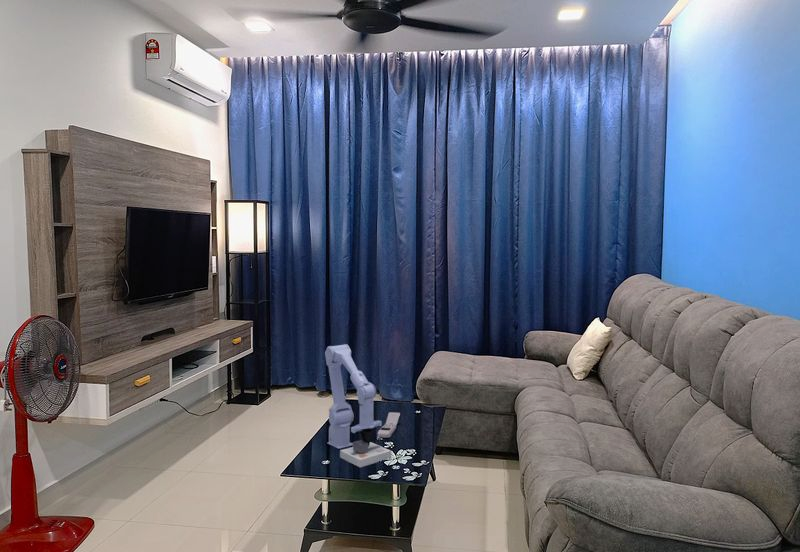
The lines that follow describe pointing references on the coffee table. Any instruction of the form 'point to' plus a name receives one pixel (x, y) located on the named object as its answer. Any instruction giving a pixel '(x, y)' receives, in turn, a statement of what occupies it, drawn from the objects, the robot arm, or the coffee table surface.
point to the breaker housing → (365, 455)
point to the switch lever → (360, 446)
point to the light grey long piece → (389, 425)
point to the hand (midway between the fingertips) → (366, 446)
